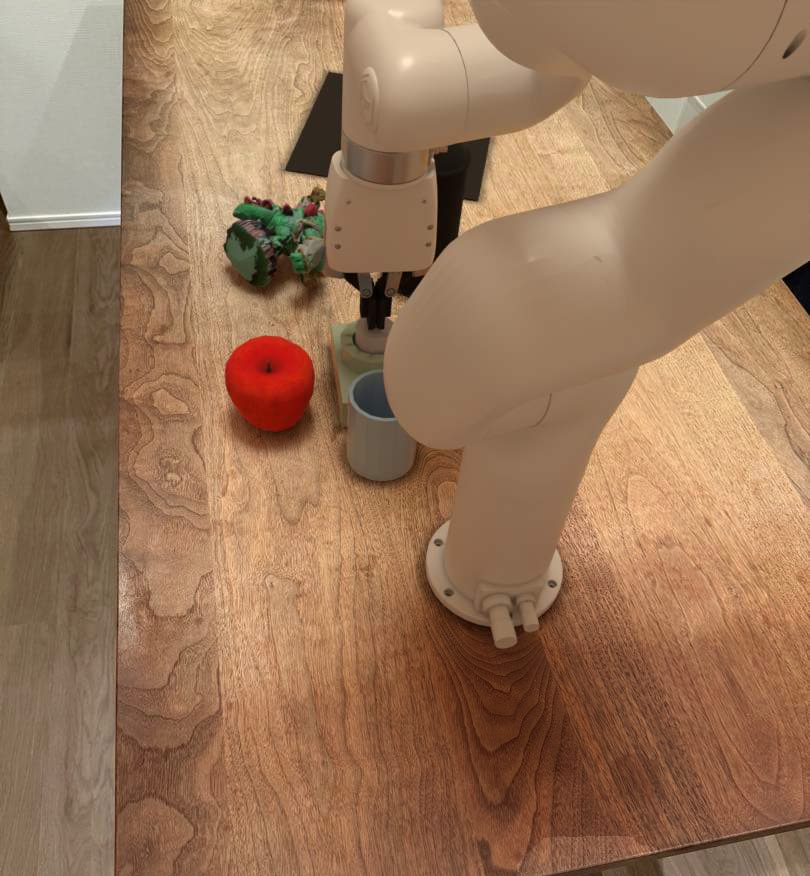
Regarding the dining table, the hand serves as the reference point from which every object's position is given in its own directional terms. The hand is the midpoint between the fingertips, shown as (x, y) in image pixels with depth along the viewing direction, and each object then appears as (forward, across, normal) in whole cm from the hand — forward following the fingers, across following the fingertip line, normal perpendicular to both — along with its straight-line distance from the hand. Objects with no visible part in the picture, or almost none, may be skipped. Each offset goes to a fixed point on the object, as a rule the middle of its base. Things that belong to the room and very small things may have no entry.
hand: (374, 320), depth 89 cm
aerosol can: (+8, -8, -17) cm, 20 cm away
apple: (+8, +11, +5) cm, 14 cm away
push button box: (+8, 0, +1) cm, 8 cm away
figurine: (+8, +7, -20) cm, 22 cm away
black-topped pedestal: (+8, -10, -50) cm, 51 cm away
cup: (+8, 0, +12) cm, 14 cm away
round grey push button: (+3, 0, 0) cm, 3 cm away
